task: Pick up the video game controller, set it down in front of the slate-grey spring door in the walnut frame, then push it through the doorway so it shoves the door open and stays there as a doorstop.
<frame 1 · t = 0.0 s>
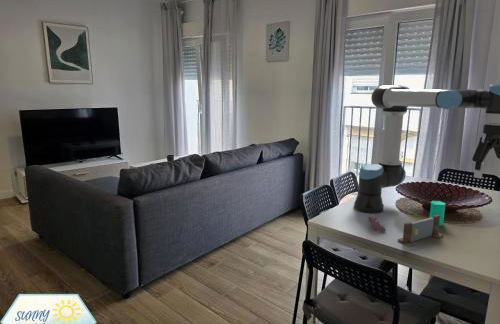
hand: (487, 175, 138), 28 cm above the table, tool pointing down, fingers open, 13 cm apart
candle: (435, 223, 160), on the table
door: (423, 229, 143), point 5 cm above the table, hinge at 0.0°
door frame: (420, 238, 144), on the table
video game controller: (375, 229, 155), on the table
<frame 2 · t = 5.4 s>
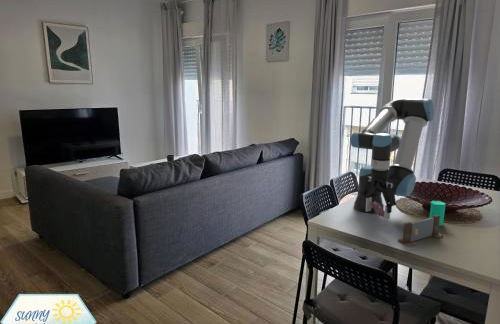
hand: (377, 214, 154), 6 cm above the table, tool pointing down, fingers closed on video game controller, 10 cm apart
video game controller: (378, 215, 155), point 6 cm above the table, touching gripper
everything else where it was.
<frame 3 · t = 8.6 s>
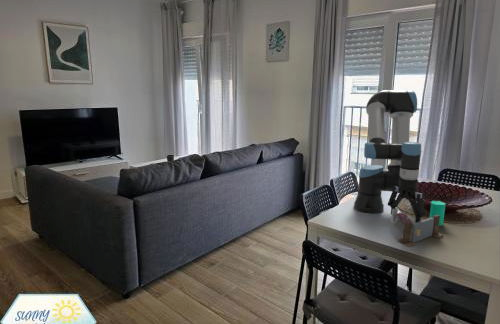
hand: (404, 226, 150), 3 cm above the table, tool pointing down, fingers closed on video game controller, 10 cm apart
door: (424, 230, 142), point 4 cm above the table, hinge at 4.3°
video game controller: (405, 226, 150), point 3 cm above the table, touching gripper
everything else where it was.
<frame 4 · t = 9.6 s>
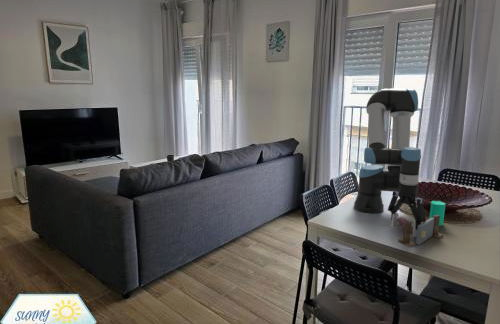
hand: (404, 231, 150), 1 cm above the table, tool pointing down, fingers closed on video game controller, 10 cm apart
door: (427, 230, 141), point 4 cm above the table, hinge at 14.1°, touching gripper, hand
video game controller: (405, 231, 150), point 1 cm above the table, touching gripper
everything else where it was.
when the fingers open (1 cm above the table, at t = 9.8 s): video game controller moves 1 cm, on the table.
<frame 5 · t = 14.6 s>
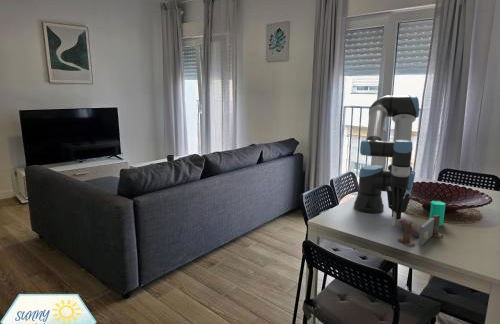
hand: (395, 224, 154), 2 cm above the table, tool pointing down, fingers closed
door: (428, 231, 141), point 4 cm above the table, hinge at 18.6°
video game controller: (408, 233, 150), on the table, touching gripper
everything else where it was.
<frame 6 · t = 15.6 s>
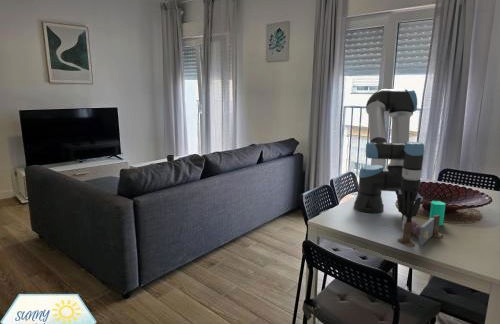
hand: (405, 229, 149), 2 cm above the table, tool pointing down, fingers closed
door: (428, 231, 141), point 5 cm above the table, hinge at 18.8°, touching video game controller
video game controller: (415, 234, 149), on the table, touching door, gripper
everything else where it was.
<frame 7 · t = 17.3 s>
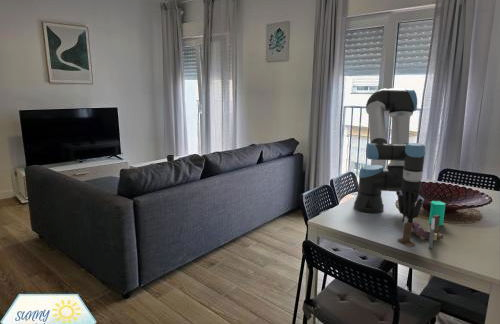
hand: (406, 230, 149), 2 cm above the table, tool pointing down, fingers closed
door: (433, 232, 140), point 4 cm above the table, hinge at 34.1°
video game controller: (418, 235, 149), on the table
everything else where it was.
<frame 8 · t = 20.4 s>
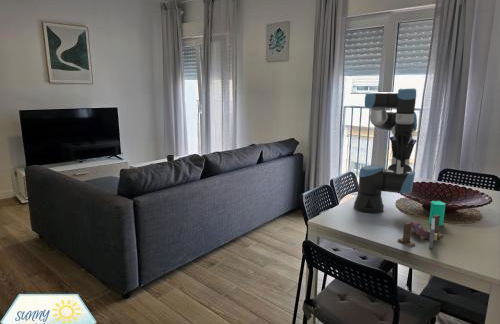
hand: (399, 173, 157), 24 cm above the table, tool pointing down, fingers closed
door: (433, 232, 140), point 4 cm above the table, hinge at 34.4°, touching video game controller
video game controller: (418, 234, 149), on the table, touching door
everything else where it was.
at the end: door at +34° (first picture: +0°); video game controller inside the target area (6.0 cm from its centre), on the table; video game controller tilted 1° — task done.
